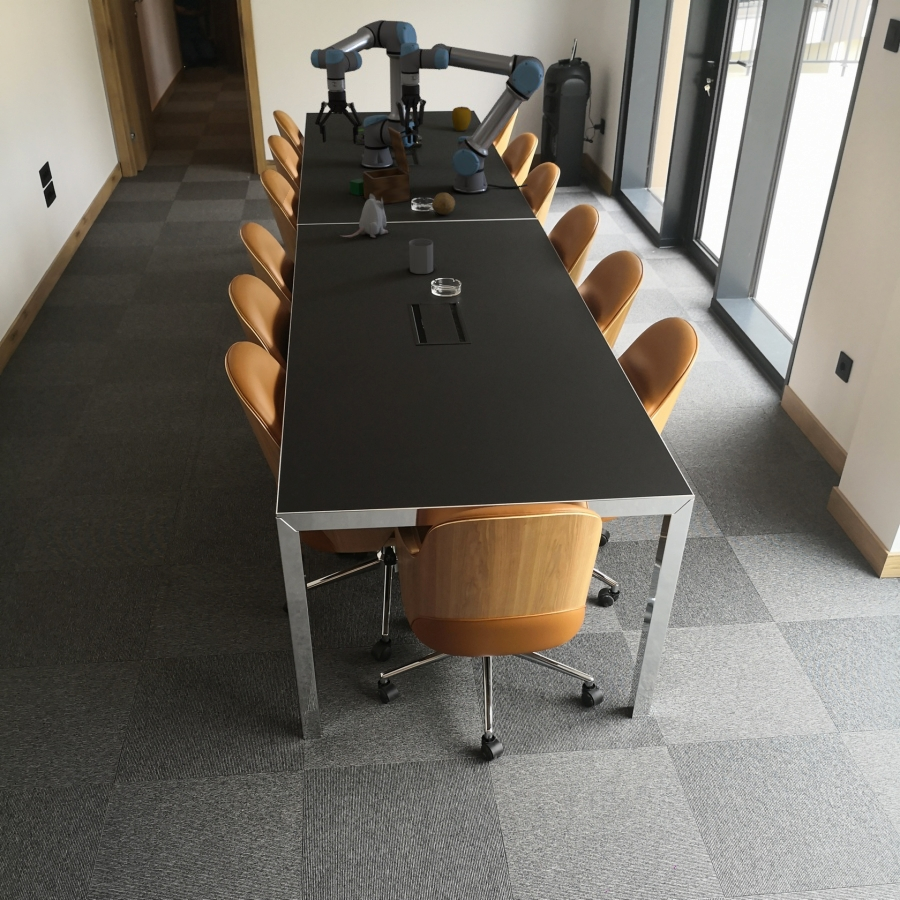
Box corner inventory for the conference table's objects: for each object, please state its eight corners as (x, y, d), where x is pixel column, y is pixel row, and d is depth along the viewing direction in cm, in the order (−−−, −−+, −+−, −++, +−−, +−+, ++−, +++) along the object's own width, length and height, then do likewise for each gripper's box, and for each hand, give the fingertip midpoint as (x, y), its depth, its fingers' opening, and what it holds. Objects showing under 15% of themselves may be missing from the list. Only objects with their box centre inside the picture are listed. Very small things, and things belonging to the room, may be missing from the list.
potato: (453, 208, 369) (453, 189, 365) (456, 218, 357) (456, 199, 353) (431, 208, 368) (430, 189, 364) (432, 218, 356) (432, 199, 352)
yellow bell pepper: (471, 132, 486) (471, 108, 479) (451, 132, 486) (451, 108, 479) (470, 128, 495) (471, 104, 488) (452, 128, 495) (452, 104, 488)
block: (359, 195, 385) (358, 183, 382) (350, 193, 388) (349, 180, 385) (367, 192, 388) (367, 180, 385) (359, 190, 391) (358, 178, 388)
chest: (373, 205, 373) (372, 178, 367) (364, 197, 382) (362, 171, 376) (409, 200, 379) (409, 174, 373) (399, 193, 388) (398, 167, 382)
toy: (393, 232, 342) (392, 194, 333) (348, 247, 327) (345, 208, 319) (378, 227, 347) (376, 190, 339) (332, 242, 332) (330, 203, 324)
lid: (398, 133, 362) (417, 126, 364) (387, 127, 371) (406, 120, 373) (408, 173, 372) (426, 166, 374) (397, 166, 381) (415, 159, 383)
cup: (409, 265, 311) (408, 238, 306) (432, 265, 312) (431, 238, 307) (410, 274, 304) (409, 246, 299) (433, 273, 305) (433, 246, 299)
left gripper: (305, 90, 363) (309, 143, 374) (363, 92, 360) (366, 145, 371) (310, 87, 369) (314, 139, 380) (367, 89, 366) (369, 141, 377)
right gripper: (397, 86, 354) (399, 146, 367) (430, 84, 359) (431, 142, 372) (390, 83, 360) (392, 142, 373) (423, 81, 365) (424, 139, 378)
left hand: (339, 142), depth 376 cm, fingers open, 13 cm apart
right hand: (412, 142), depth 372 cm, fingers closed on lid, 2 cm apart
